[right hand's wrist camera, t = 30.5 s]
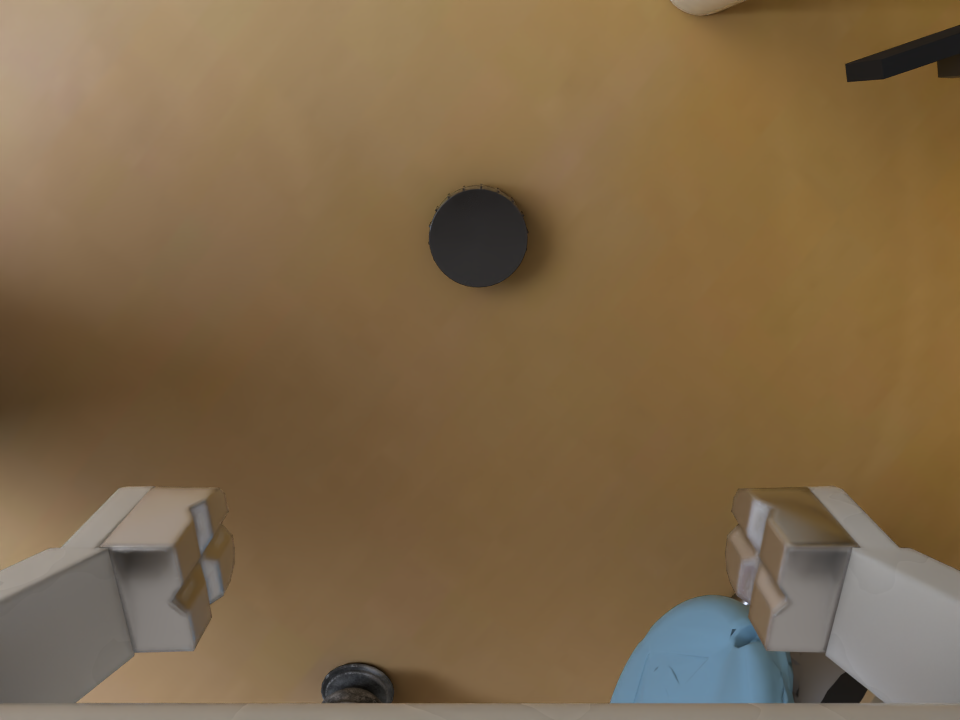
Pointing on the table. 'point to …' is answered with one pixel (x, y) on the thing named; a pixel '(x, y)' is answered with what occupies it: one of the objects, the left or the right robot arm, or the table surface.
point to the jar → (704, 6)
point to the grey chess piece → (357, 685)
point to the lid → (478, 236)
